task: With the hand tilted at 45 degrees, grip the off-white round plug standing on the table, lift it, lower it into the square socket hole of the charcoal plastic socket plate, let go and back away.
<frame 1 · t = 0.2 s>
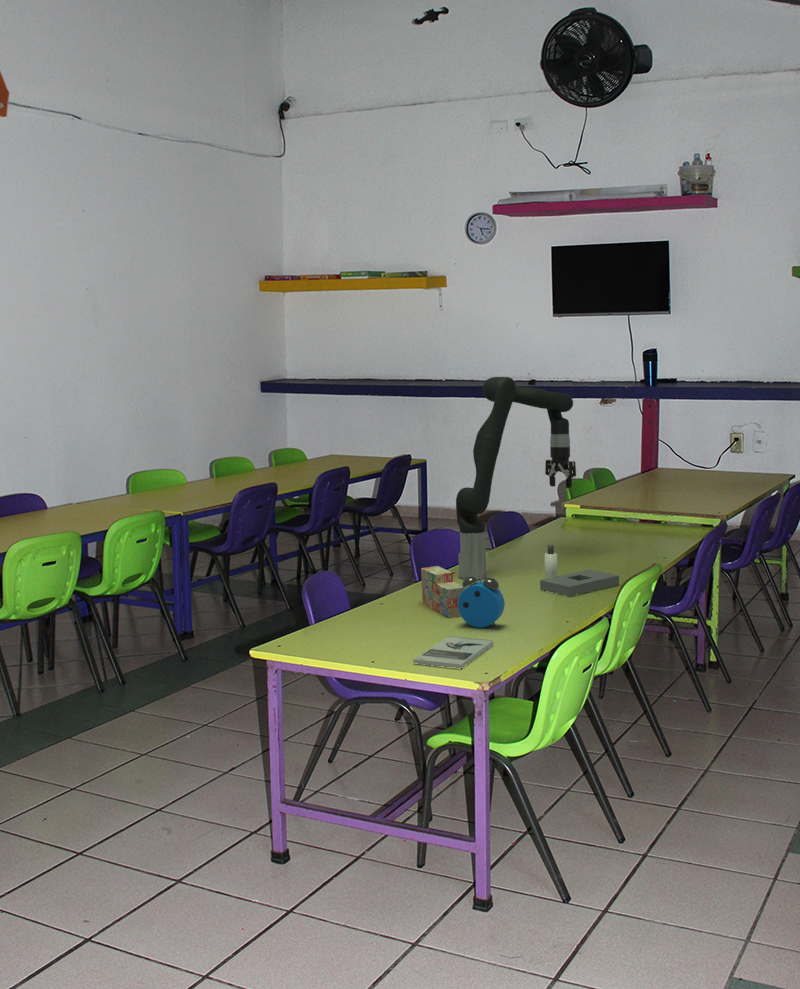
hand: (560, 487, 384), 29 cm above the table, tool pointing down, fingers open, 8 cm apart
plug: (551, 581, 353), on the table
alarm clock: (481, 626, 299), on the table
stack of blocks: (443, 610, 320), on the table
socket plate: (579, 587, 342), on the table
book: (454, 657, 271), on the table
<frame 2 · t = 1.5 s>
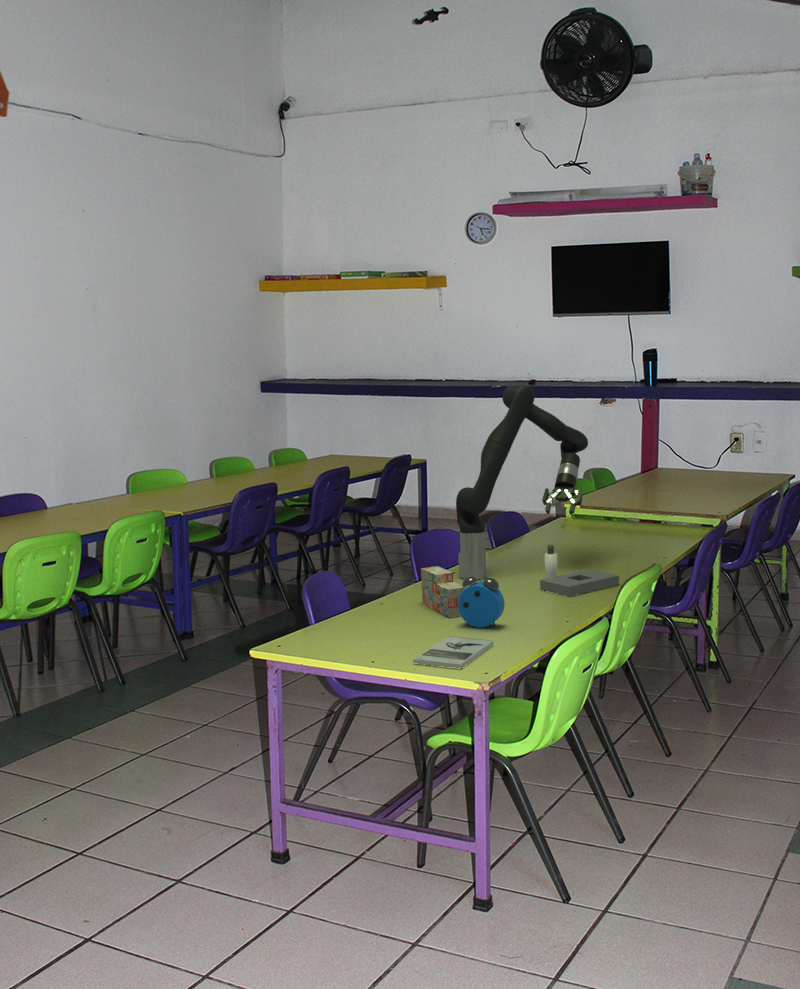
hand: (559, 513, 361), 23 cm above the table, tool tilted 45°, fingers open, 8 cm apart
nothing on the table moved.
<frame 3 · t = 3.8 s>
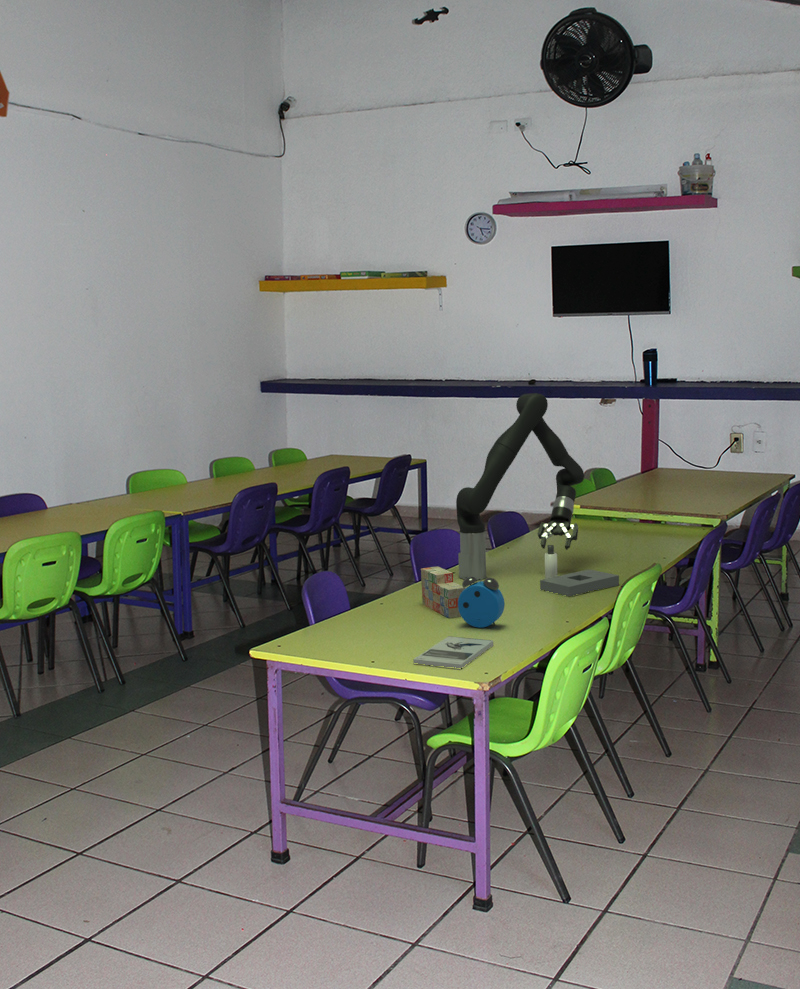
hand: (554, 547, 356), 11 cm above the table, tool tilted 45°, fingers open, 8 cm apart
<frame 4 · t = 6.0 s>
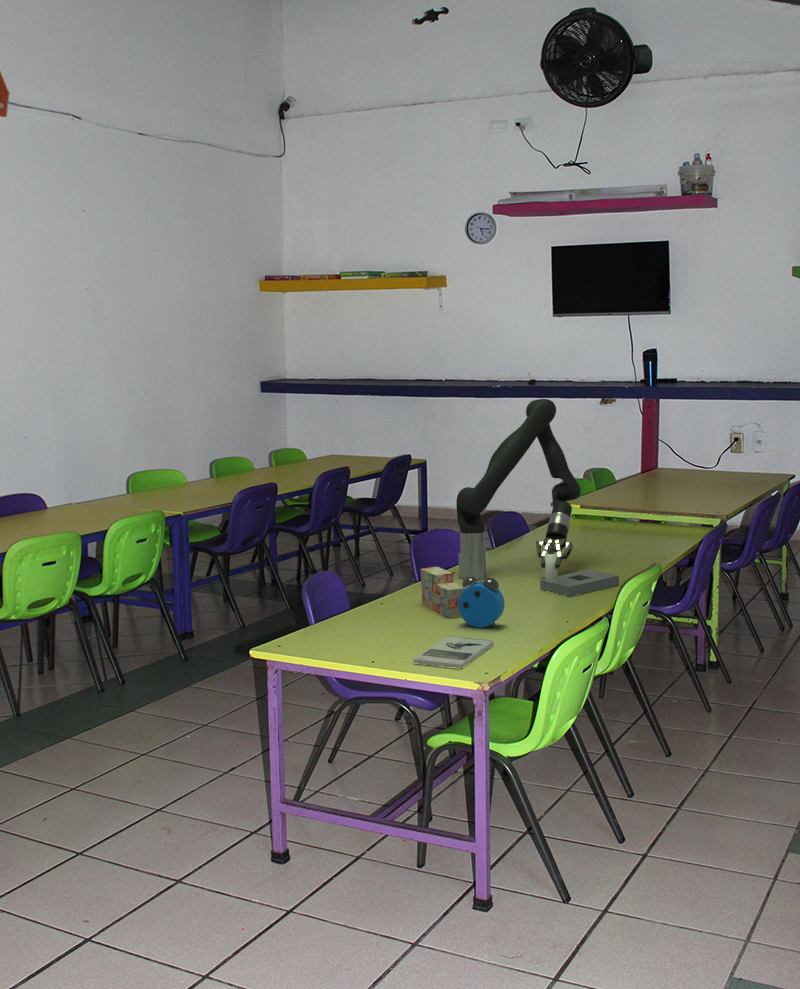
hand: (549, 566, 351), 6 cm above the table, tool tilted 45°, fingers closed on plug, 4 cm apart
plug: (551, 581, 353), on the table, touching gripper
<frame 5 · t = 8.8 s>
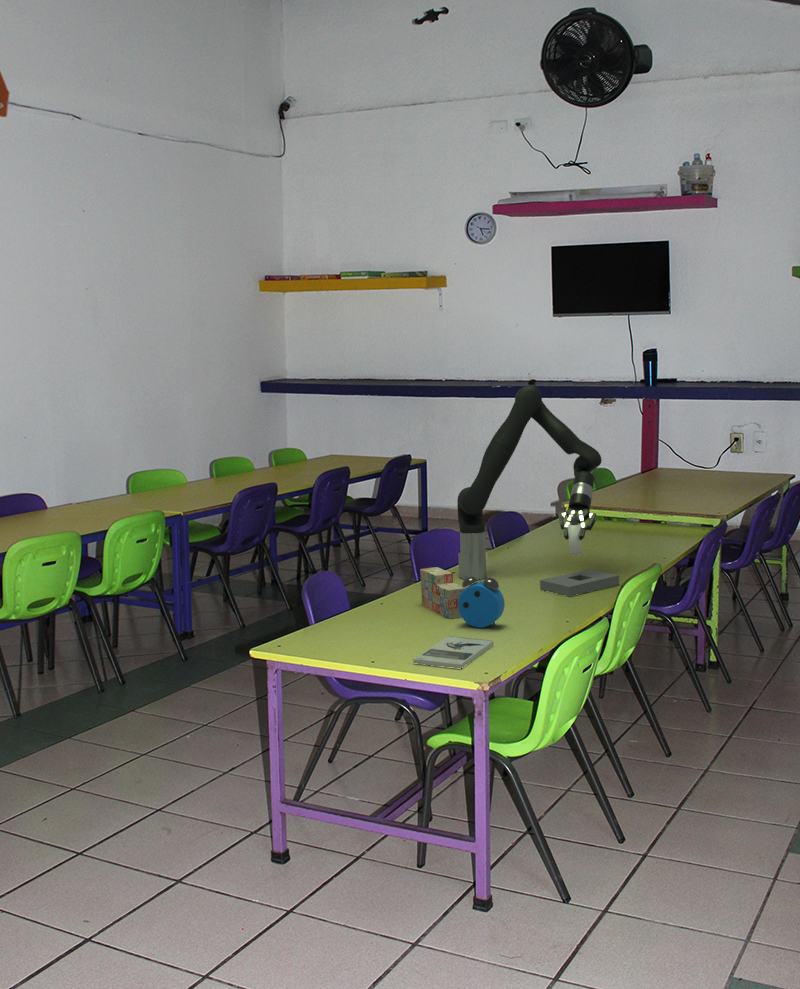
hand: (573, 538, 340), 17 cm above the table, tool tilted 45°, fingers closed on plug, 4 cm apart
plug: (575, 553, 343), point 12 cm above the table, touching gripper
when the fingers open (7 cm above the table, at t = 11.9 s): plug drops 1 cm, resting in socket plate.
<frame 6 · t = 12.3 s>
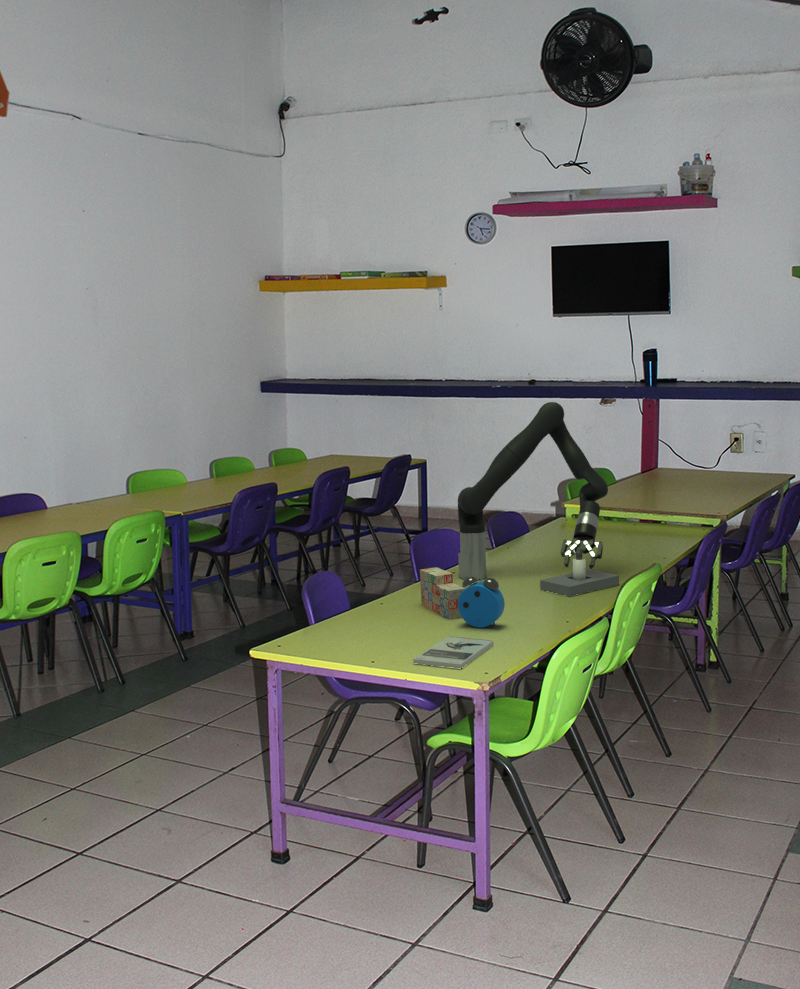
hand: (578, 566, 339), 8 cm above the table, tool tilted 45°, fingers open, 8 cm apart
plug: (579, 587, 342), resting in socket plate
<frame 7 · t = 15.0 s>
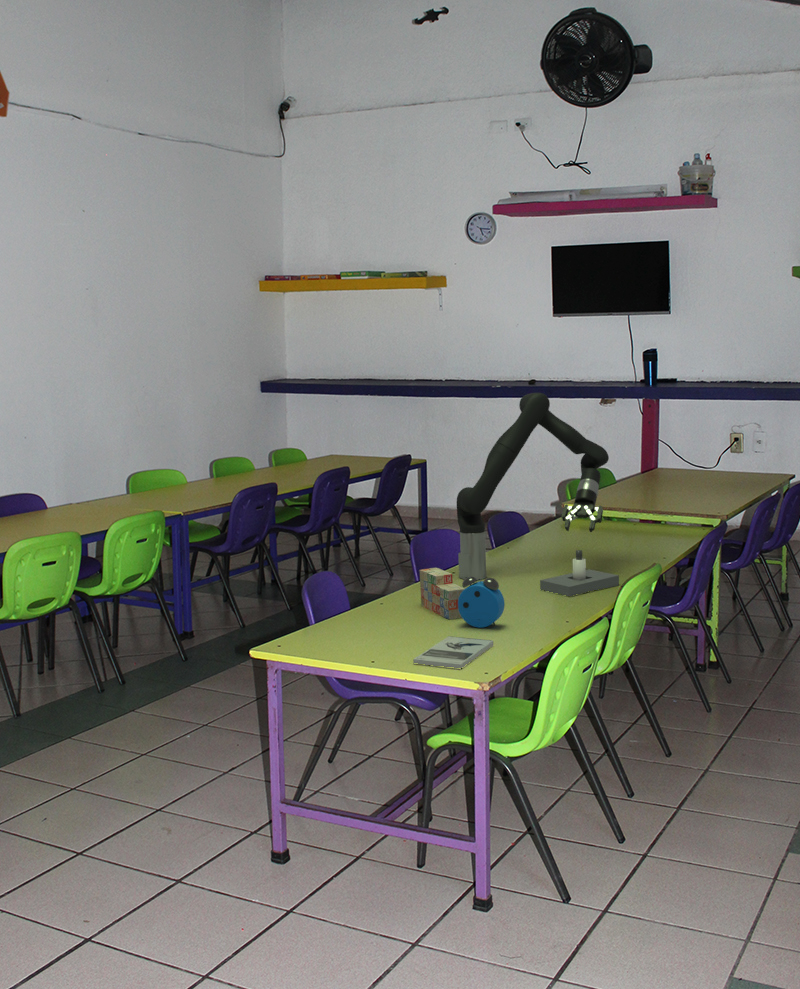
hand: (578, 530, 352), 18 cm above the table, tool tilted 45°, fingers open, 8 cm apart
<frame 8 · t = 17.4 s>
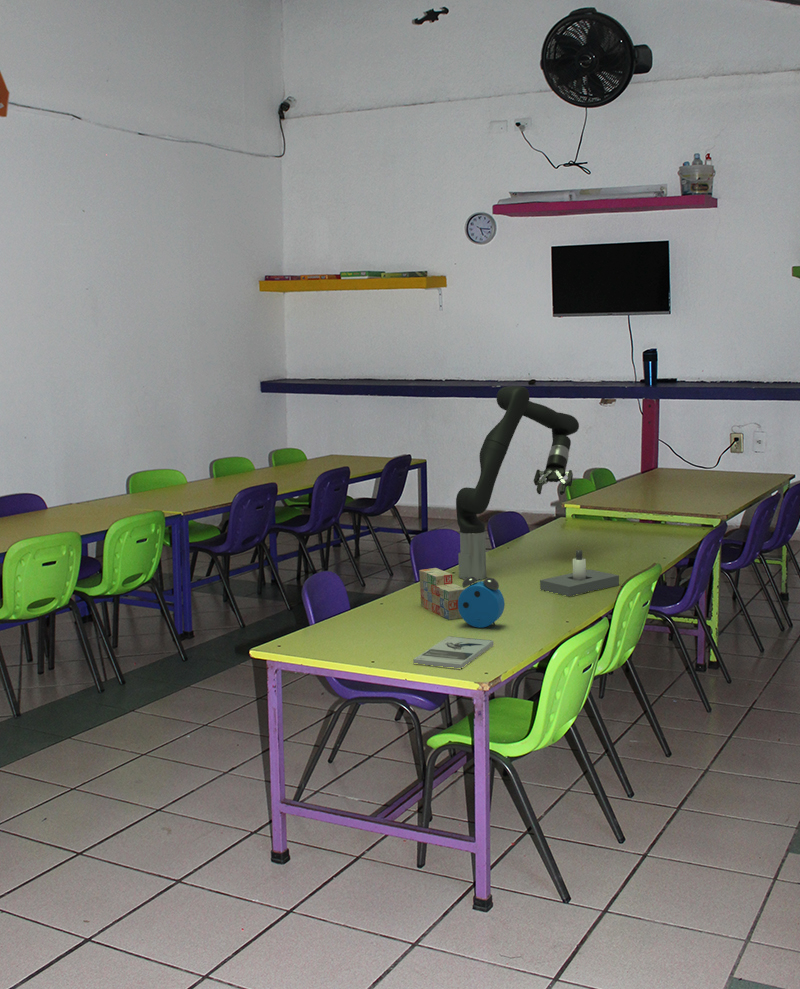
hand: (549, 493, 370), 29 cm above the table, tool tilted 45°, fingers open, 8 cm apart
at the end: plug 0.2 cm off-centre on the socket plate, point 0.0 cm above the socket plate's base; plug tilted 0°; the gripper is holding nothing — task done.
